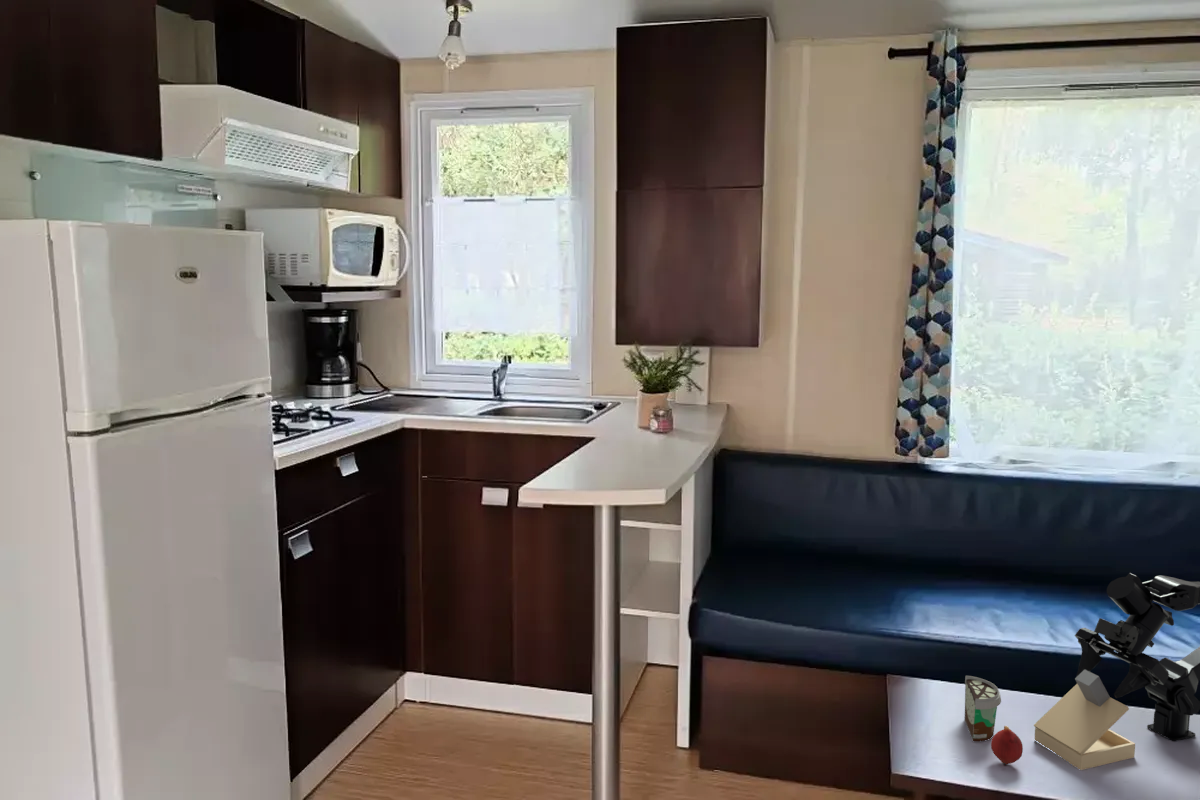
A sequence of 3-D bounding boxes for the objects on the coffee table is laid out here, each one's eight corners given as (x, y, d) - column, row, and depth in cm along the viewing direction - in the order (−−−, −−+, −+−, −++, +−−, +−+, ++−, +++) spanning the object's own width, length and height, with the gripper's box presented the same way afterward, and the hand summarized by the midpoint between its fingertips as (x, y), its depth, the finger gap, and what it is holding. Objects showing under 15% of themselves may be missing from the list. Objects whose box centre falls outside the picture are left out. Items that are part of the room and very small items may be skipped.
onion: (1022, 760, 187) (1023, 722, 186) (1021, 774, 182) (1023, 736, 180) (990, 754, 189) (992, 717, 188) (989, 767, 184) (991, 730, 183)
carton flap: (1080, 684, 196) (1068, 661, 194) (1129, 709, 185) (1116, 685, 183) (1035, 727, 193) (1022, 704, 191) (1081, 755, 182) (1068, 731, 180)
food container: (1005, 747, 192) (1007, 702, 190) (974, 745, 193) (976, 700, 191) (992, 719, 204) (994, 676, 202) (963, 717, 205) (965, 674, 203)
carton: (1086, 730, 198) (1086, 716, 198) (1134, 757, 187) (1135, 743, 187) (1034, 741, 194) (1035, 728, 193) (1080, 770, 183) (1081, 756, 182)
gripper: (1083, 590, 197) (1040, 647, 195) (1161, 621, 180) (1115, 684, 178) (1109, 620, 201) (1067, 676, 199) (1188, 653, 184) (1143, 715, 182)
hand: (1096, 687), depth 189 cm, fingers open, 9 cm apart
